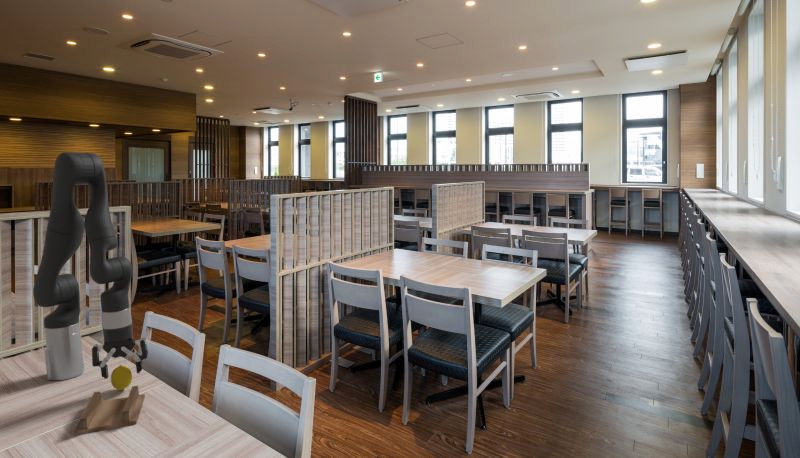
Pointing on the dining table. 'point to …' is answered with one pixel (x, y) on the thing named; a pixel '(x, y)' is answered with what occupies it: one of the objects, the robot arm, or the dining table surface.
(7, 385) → the dining table surface
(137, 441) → the dining table surface
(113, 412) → the cradle
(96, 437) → the dining table surface
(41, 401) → the dining table surface
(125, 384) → the lemon
